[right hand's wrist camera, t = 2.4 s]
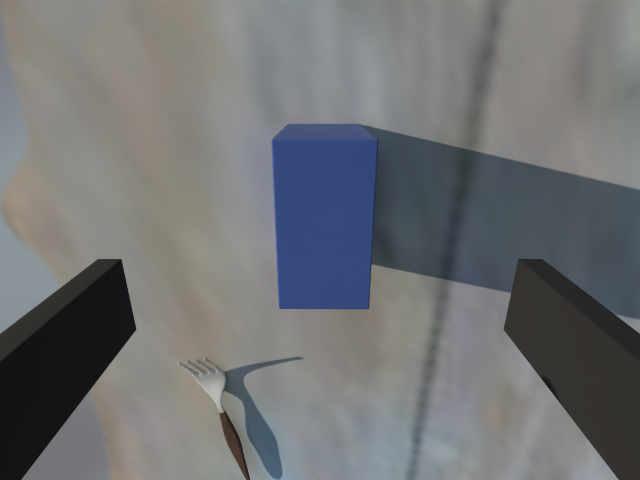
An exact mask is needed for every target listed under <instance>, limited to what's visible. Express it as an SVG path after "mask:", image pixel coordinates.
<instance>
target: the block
mask: <svg viewBox="0 0 640 480" xmlns="http://www.w3.org/2000/svg"><path fill="white" fill-rule="evenodd" d="M271 143H272V165H273V187H274V209H275V231H276V253H277V275H278V297H279V309H369V298H370V280H371V262H372V244H373V226H374V208H375V190H376V172H377V154H378V140H377V139H376V138H375V137H374V136H373V135H372V134H371V133H370V132H368V131H367V130H366V129H365V128H364V127H363V126H362V125H360V124H288V125H287V126H286V127H285V128H284V129H283V130H281V131H280V132H279V133H278V134H277V135H276V136H275V137H274V138H273V139H272V141H271Z"/></svg>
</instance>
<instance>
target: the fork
mask: <svg viewBox="0 0 640 480" xmlns="http://www.w3.org/2000/svg"><path fill="white" fill-rule="evenodd" d="M204 360H205V361H207V362H208V363H209V364H210V365H212V366H213V367H214V368H215V370H212V369H211V368H209V367H208V366H207V365H205V364H204V363H202V362H201V361H199V360H197V359H196V362H198V363H199V364H200V365H202V366H203V367H204V368H205V369H206V370H207V372H205V371H203V370H202V369H201V368H199V367H198V366H196V365H195V364H193V363H192V362H190V361H187V363H189V364H190V365H191V366H193V367H194V368H195V369H196V370H198V371H199V373H197V372H195V371H193V370H192V369H191V368H189V367H188V366H186V365H184V364H183V363H181V362H179V363H178V364H179V365H181V366H183V367H184V368H185V369H187V370H188V371H189V372H190V373H191V374H192V375H193V376H194V378H195V379H196V380H197V382H198V383H199V384H200V385H201V386H202V388H203V389H204V390H205V391H206V392H207V393H208V394H209V395H210V396H211V397H212V398H213V400H214V401H215V403H216V404H217V407H218V410H219V414H220V418H221V423H222V427H223V431H224V435H225V438H226V441H227V444H228V446H229V448H230V450H231V452H232V454H233V456H234V457H235V459H236V461H237V463H238V465H239V467H240V469H241V471H242V473H243V474H244V476H245V478H246V480H250V477H249V473H248V469H247V465H246V462H245V458H244V454H243V449H242V445H241V441H240V438H239V436H238V434H237V432H236V430H235V428H234V426H233V424H232V422H231V420H230V419H229V417H228V415H227V413H226V411H225V410H224V408H223V406H222V403H221V397H222V394H223V391H224V388H225V385H226V375H225V373H224V372H223V371H222V370H221V369H220V368H219V367H218V366H217V365H215V364H214V363H213V362H211V361H210V360H208V359H207V358H204Z"/></svg>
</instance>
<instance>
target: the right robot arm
mask: <svg viewBox="0 0 640 480" xmlns="http://www.w3.org/2000/svg"><path fill="white" fill-rule="evenodd" d="M135 330H136V326H135V321H134V316H133V311H132V307H131V302H130V297H129V293H128V288H127V283H126V279H125V274H124V269H123V265H122V260H121V259H98V260H96V261H95V262H94V263H92V264H91V265H90V266H89V267H87V268H86V269H85V270H83V271H82V272H81V273H79V274H78V275H77V276H75V277H74V278H73V279H71V280H70V281H69V282H68V283H66V284H65V285H64V286H62V287H61V288H60V289H58V290H57V291H56V292H54V293H53V294H52V295H51V296H49V297H48V298H47V299H45V300H44V301H43V302H41V303H40V304H39V305H37V306H36V307H35V308H34V309H32V310H31V311H30V312H28V313H27V314H26V315H24V316H23V317H22V318H21V319H19V320H18V321H17V322H15V323H14V324H13V325H11V326H10V327H9V328H7V329H6V330H5V331H3V332H2V333H1V334H0V480H21V479H22V478H23V477H24V475H25V474H26V473H27V471H28V470H29V469H30V467H31V466H32V465H33V464H34V462H35V461H36V460H37V458H38V457H39V456H40V454H41V453H42V452H43V450H44V449H45V448H46V447H47V445H48V444H49V443H50V441H51V440H52V439H53V437H54V436H55V435H56V433H57V432H58V431H59V430H60V428H61V427H62V426H63V424H64V423H65V422H66V420H67V419H68V418H69V417H70V415H71V414H72V413H73V411H74V410H75V409H76V407H77V406H78V405H79V404H80V402H81V401H82V400H83V398H84V397H85V396H86V394H87V393H88V392H89V390H90V389H91V388H92V387H93V385H94V384H95V383H96V381H97V380H98V379H99V377H100V376H101V375H102V374H103V372H104V371H105V370H106V368H107V367H108V366H109V364H110V363H111V362H112V360H113V359H114V358H115V357H116V355H117V354H118V353H119V351H120V350H121V349H122V347H123V346H124V345H125V344H126V342H127V341H128V340H129V338H130V337H131V336H132V334H133V333H134V332H135ZM504 330H505V332H506V333H507V334H508V336H509V337H510V338H511V340H512V341H513V342H514V344H515V345H516V346H517V347H518V349H519V350H520V351H521V353H522V354H523V355H524V357H525V358H526V359H527V360H528V362H529V363H530V364H531V366H532V367H533V368H534V370H535V371H536V372H537V374H538V375H539V376H540V377H541V379H542V380H543V381H544V383H545V384H546V385H547V387H548V388H549V389H550V390H551V392H552V393H553V394H554V396H555V397H556V398H557V400H558V401H559V402H560V404H561V405H562V406H563V407H564V409H565V410H566V411H567V413H568V414H569V415H570V417H571V418H572V419H573V420H574V422H575V423H576V424H577V426H578V427H579V428H580V430H581V431H582V432H583V434H584V435H585V436H586V437H587V439H588V440H589V441H590V443H591V444H592V445H593V447H594V448H595V449H596V451H597V452H598V453H599V454H600V456H601V457H602V458H603V460H604V461H605V462H606V464H607V465H608V466H609V467H610V469H611V470H612V471H613V473H614V474H615V475H616V477H617V478H618V479H619V480H640V334H639V333H638V332H637V331H635V330H634V329H633V328H631V327H630V326H629V325H627V324H626V323H625V322H624V321H622V320H621V319H620V318H618V317H617V316H616V315H614V314H613V313H612V312H610V311H609V310H608V309H606V308H605V307H604V306H603V305H601V304H600V303H599V302H597V301H596V300H595V299H593V298H592V297H591V296H589V295H588V294H587V293H586V292H584V291H583V290H582V289H580V288H579V287H578V286H576V285H575V284H574V283H572V282H571V281H570V280H569V279H567V278H566V277H565V276H563V275H562V274H561V273H559V272H558V271H557V270H555V269H554V268H553V267H551V266H550V265H549V264H548V263H546V262H545V261H544V260H542V259H519V260H518V265H517V269H516V274H515V279H514V283H513V288H512V293H511V297H510V302H509V307H508V311H507V316H506V321H505V326H504Z"/></svg>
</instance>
